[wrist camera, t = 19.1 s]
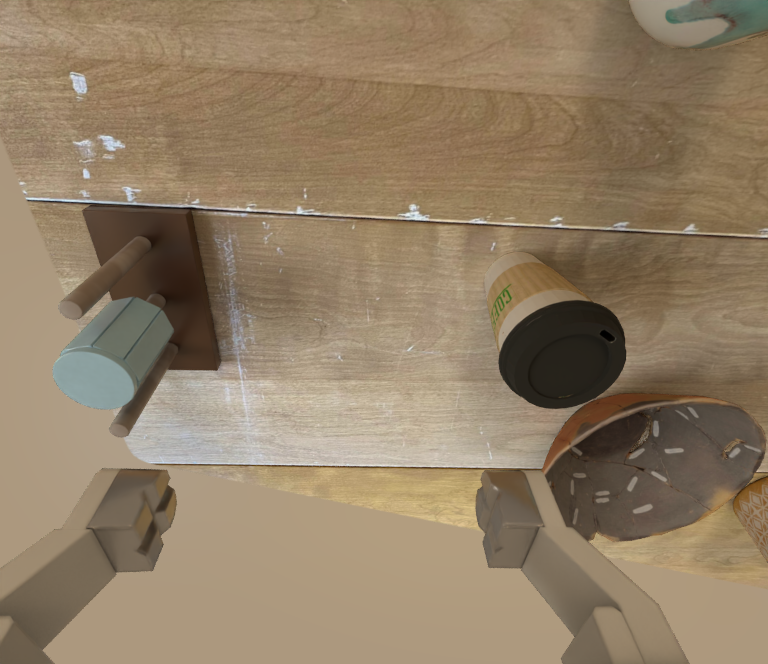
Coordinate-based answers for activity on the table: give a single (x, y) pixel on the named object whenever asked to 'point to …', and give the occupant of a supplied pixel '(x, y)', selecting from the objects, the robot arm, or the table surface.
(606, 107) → the table surface
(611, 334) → the coffee cup
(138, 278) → the cup rack
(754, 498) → the planter
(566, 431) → the bowl
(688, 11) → the vase
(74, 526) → the robot arm
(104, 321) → the blue cup
